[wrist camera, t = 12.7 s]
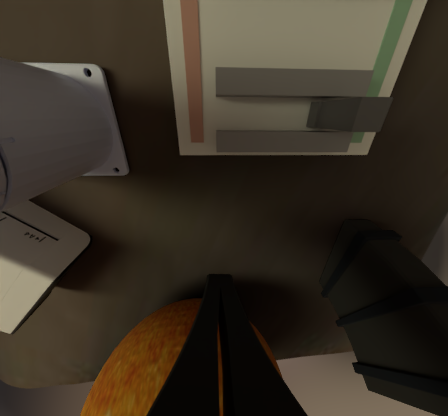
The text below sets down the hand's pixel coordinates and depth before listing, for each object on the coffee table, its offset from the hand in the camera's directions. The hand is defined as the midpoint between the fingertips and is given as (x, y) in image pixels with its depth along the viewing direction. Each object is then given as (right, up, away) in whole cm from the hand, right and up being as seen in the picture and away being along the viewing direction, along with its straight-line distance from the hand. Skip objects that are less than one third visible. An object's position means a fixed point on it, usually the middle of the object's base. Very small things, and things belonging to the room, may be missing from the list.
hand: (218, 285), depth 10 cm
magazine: (+15, -2, +13) cm, 20 cm away
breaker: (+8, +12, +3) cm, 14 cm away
